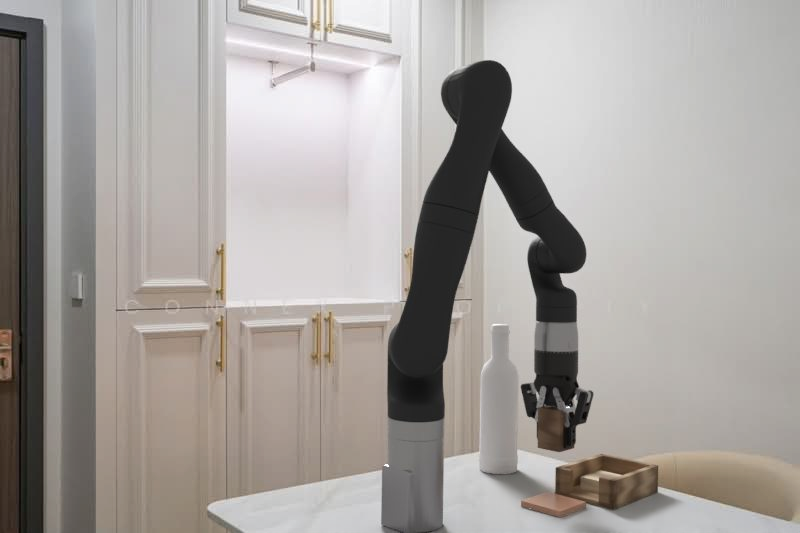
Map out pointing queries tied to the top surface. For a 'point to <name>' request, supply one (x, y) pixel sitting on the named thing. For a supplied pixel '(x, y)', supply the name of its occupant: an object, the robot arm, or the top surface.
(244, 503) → the top surface
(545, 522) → the top surface
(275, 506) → the top surface
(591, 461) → the oak box
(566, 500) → the terracotta tile
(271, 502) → the top surface
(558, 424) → the walnut block
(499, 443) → the bottle
